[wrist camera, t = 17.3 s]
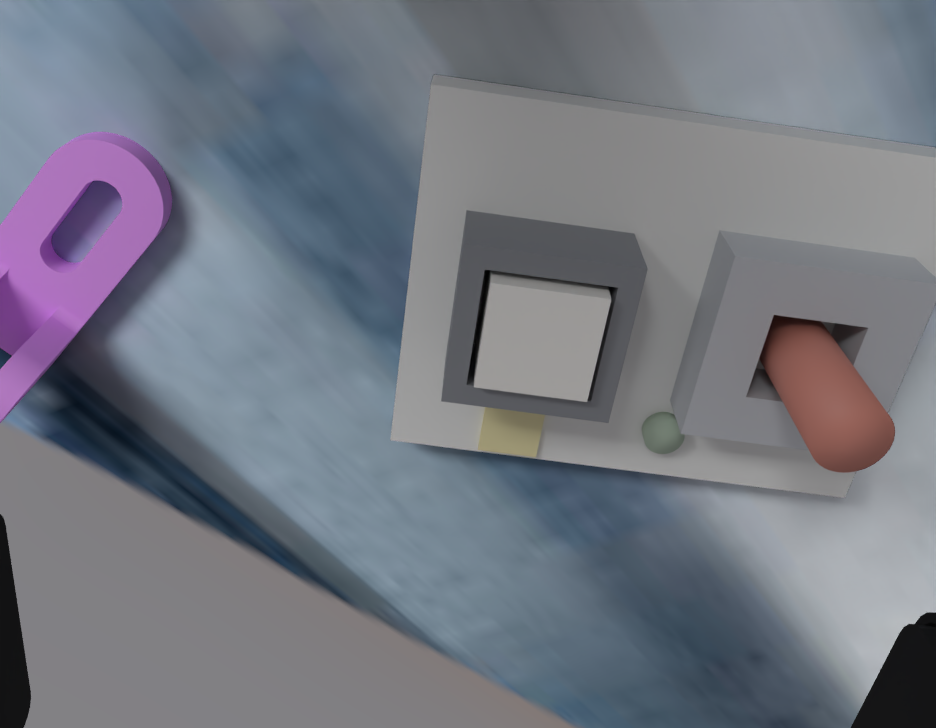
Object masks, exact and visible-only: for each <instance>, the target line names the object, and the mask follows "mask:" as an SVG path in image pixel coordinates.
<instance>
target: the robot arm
mask: <svg viewBox="0 0 936 728" xmlns="http://www.w3.org/2000/svg"><path fill="white" fill-rule="evenodd" d="M30 700H31V691H30V685H29V678H28V672H27V666H26V658H25V651H24V645H23V638H22V632H21V625H20V618H19V612H18V605H17V598H16V592H15V585H14V579H13V572H12V565H11V559H10V553H9V546H8V539H7V533H6V525H5V522H4V519H3V517H2V516H1V514H0V728H23V727H24V725H25V722H26V719H27V717H28V713H29V708H30ZM851 728H936V613H926V614H924V615H922V616H921V617H920V618H919V619H918V621H917V622H916V623H915V624H908V625H907V626H905V627H904V628H903V629H902V631H901V632H900V634H899V636H898V637H897V639H896V641H895V643H894V645H893V647H892V649H891V651H890V653H889V655H888V657H887V659H886V661H885V663H884V664H883V666H882V668H881V670H880V672H879V674H878V676H877V678H876V680H875V682H874V684H873V686H872V688H871V690H870V692H869V693H868V695H867V697H866V699H865V701H864V703H863V705H862V707H861V709H860V711H859V713H858V715H857V717H856V719H855V720H854V722H853V724H852V726H851Z"/></svg>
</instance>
